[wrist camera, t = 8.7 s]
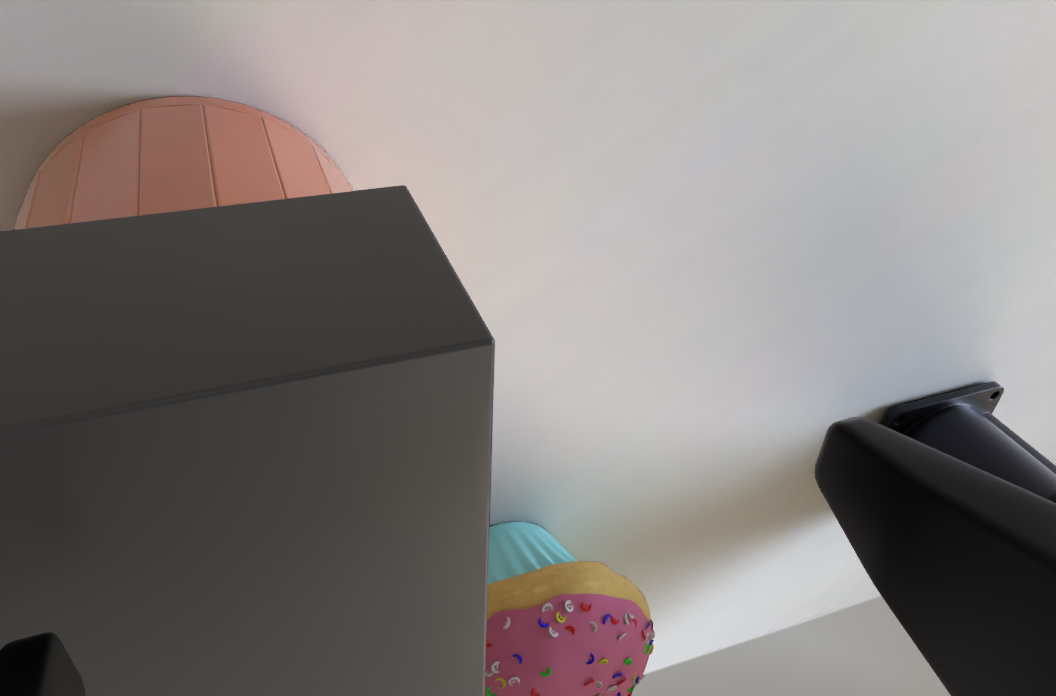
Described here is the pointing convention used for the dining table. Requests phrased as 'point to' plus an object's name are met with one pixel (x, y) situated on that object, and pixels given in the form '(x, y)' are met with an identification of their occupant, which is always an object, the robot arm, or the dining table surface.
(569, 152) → the dining table surface
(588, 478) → the dining table surface
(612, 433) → the dining table surface
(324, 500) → the black bar
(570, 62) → the dining table surface
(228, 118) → the terracotta cup
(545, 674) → the cupcake
